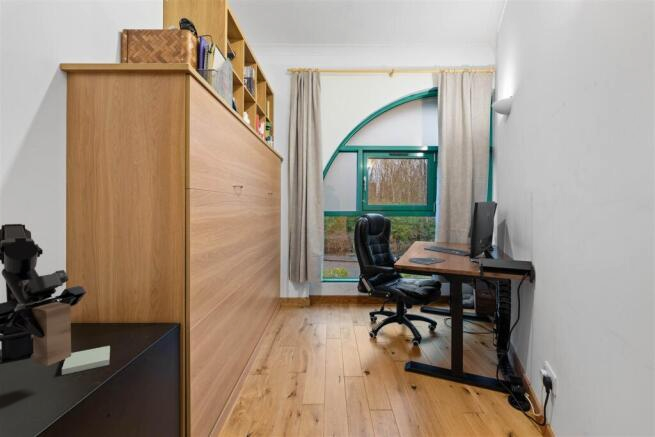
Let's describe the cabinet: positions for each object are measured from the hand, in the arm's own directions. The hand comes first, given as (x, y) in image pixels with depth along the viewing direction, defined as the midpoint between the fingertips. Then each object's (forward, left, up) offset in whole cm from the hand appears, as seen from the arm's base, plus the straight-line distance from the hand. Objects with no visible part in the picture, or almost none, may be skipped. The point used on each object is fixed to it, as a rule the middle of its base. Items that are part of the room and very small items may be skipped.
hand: (56, 332), depth 76 cm
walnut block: (-1, +1, -7) cm, 7 cm away
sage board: (+5, +11, -13) cm, 18 cm away
